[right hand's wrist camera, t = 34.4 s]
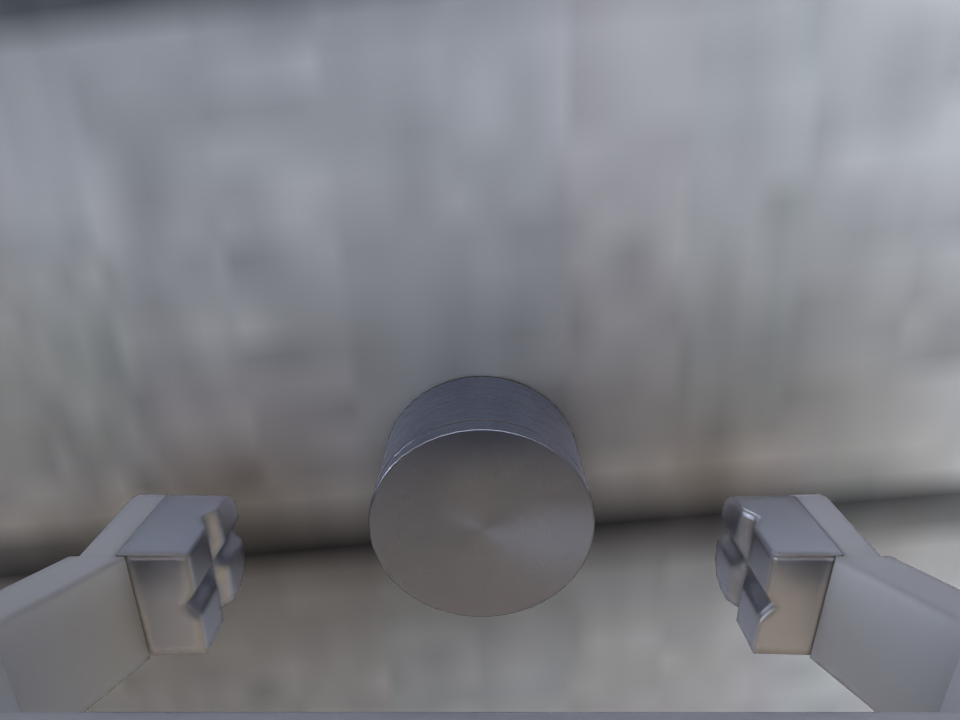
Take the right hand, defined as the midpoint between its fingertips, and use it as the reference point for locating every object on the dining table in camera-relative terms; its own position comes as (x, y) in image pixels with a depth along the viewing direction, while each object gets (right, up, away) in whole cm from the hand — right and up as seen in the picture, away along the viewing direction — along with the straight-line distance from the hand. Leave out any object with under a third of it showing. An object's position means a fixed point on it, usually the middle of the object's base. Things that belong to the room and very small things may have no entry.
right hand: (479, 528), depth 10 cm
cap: (0, 0, 0) cm, 0 cm away
